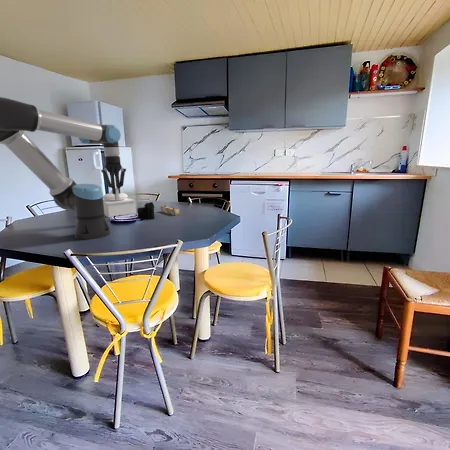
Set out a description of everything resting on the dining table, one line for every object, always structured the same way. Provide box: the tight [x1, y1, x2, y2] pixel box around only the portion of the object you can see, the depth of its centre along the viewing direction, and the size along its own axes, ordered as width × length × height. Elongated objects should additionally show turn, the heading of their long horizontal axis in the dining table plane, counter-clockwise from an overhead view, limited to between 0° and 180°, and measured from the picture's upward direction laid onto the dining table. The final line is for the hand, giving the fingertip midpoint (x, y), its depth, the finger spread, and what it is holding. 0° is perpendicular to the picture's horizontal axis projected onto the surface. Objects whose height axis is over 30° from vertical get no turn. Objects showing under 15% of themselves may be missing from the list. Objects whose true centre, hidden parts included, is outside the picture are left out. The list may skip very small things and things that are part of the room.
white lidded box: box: [103, 189, 137, 218], centre depth 179 cm, size 18×18×16 cm
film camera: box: [136, 202, 155, 221], centre depth 166 cm, size 15×10×9 cm, turn 17°
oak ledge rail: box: [160, 204, 180, 217], centre depth 178 cm, size 18×2×4 cm, turn 41°
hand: (117, 199), depth 155 cm, fingers closed
